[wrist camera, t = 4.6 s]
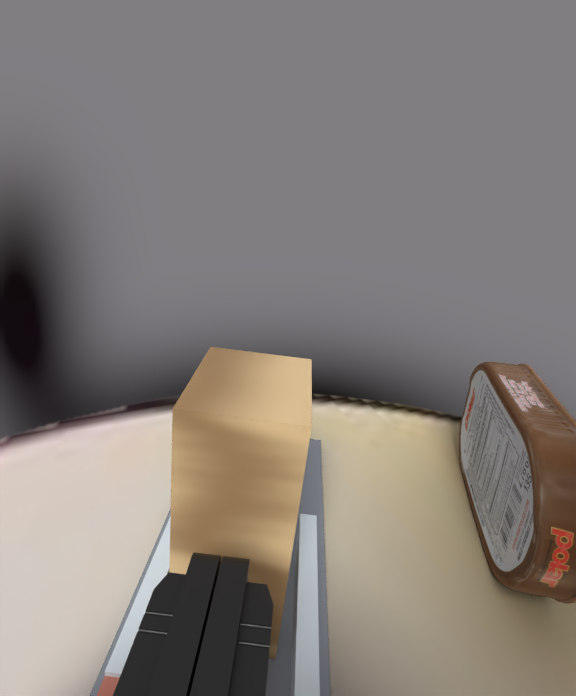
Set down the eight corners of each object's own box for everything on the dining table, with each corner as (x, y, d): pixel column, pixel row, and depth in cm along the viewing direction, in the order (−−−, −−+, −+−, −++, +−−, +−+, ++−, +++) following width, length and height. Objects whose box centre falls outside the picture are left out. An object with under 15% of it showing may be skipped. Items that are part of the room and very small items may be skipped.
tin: (569, 650, 18) (653, 489, 15) (492, 629, 19) (558, 469, 16) (487, 452, 32) (522, 347, 29) (444, 443, 33) (474, 339, 30)
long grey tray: (319, 446, 30) (323, 421, 29) (340, 1084, 9) (358, 1051, 8) (205, 432, 30) (207, 407, 29) (-48, 1031, 9) (-65, 993, 8)
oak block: (283, 551, 21) (311, 359, 17) (275, 659, 16) (311, 426, 12) (200, 541, 21) (210, 346, 17) (167, 646, 16) (172, 408, 12)
